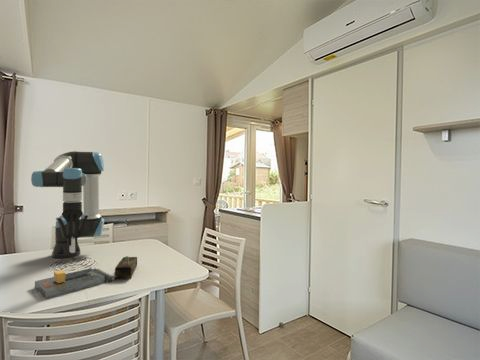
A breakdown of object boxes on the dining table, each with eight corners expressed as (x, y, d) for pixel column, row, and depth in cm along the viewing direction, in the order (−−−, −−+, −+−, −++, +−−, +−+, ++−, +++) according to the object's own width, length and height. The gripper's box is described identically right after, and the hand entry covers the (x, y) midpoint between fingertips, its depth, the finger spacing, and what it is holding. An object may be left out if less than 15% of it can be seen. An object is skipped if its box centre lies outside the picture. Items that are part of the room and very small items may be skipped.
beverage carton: (137, 266, 158) (137, 255, 158) (131, 280, 139) (131, 266, 139) (122, 267, 156) (122, 255, 156) (114, 280, 138) (114, 267, 137)
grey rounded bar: (92, 273, 145) (92, 269, 145) (100, 271, 148) (100, 267, 148) (107, 282, 134) (107, 277, 134) (115, 280, 137) (115, 275, 137)
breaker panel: (34, 287, 127) (34, 281, 126) (90, 274, 145) (90, 267, 145) (45, 299, 116) (45, 291, 116) (104, 282, 134) (104, 276, 134)
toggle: (53, 280, 127) (53, 271, 127) (61, 278, 130) (61, 269, 130) (57, 283, 124) (57, 274, 124) (65, 281, 126) (65, 272, 126)
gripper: (59, 203, 122) (59, 256, 123) (90, 201, 132) (90, 250, 133) (53, 201, 127) (53, 253, 128) (84, 199, 137) (84, 247, 138)
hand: (72, 251), depth 131 cm, fingers closed
